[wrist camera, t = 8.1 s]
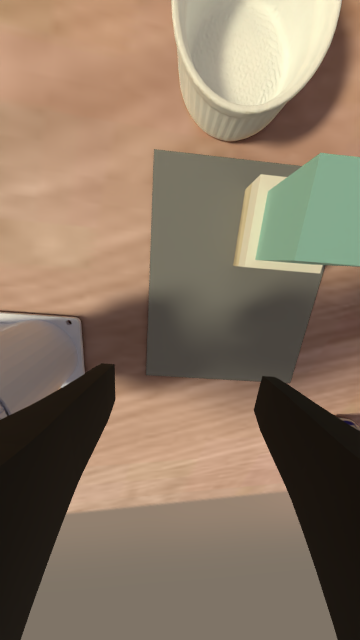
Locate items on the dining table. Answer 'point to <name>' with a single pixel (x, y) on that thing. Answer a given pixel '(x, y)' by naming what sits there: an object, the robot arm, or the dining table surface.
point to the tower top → (254, 227)
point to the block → (314, 214)
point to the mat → (217, 278)
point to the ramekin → (248, 58)
